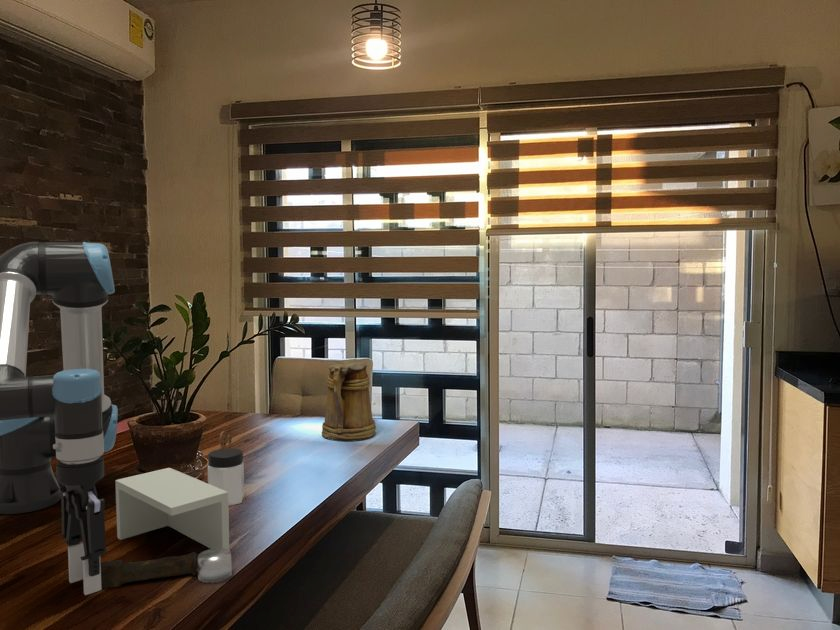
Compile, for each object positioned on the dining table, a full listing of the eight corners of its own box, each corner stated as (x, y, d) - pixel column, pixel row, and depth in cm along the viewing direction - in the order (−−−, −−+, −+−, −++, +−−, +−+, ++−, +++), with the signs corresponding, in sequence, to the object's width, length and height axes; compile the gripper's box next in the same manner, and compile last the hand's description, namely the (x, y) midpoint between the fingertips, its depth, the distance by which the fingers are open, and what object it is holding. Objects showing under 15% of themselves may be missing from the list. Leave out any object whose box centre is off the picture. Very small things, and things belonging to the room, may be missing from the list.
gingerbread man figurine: (222, 479, 184) (221, 435, 183) (209, 478, 185) (208, 435, 184) (238, 470, 192) (237, 427, 192) (225, 469, 193) (224, 427, 192)
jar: (252, 498, 170) (251, 450, 169) (230, 508, 162) (229, 459, 161) (223, 493, 173) (222, 446, 172) (200, 503, 166) (199, 454, 165)
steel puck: (191, 577, 127) (190, 556, 127) (218, 565, 132) (217, 545, 132) (211, 586, 124) (210, 564, 123) (238, 574, 129) (237, 553, 128)
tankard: (380, 428, 240) (380, 358, 238) (365, 446, 216) (365, 368, 214) (330, 427, 242) (329, 357, 240) (310, 444, 219) (309, 367, 217)
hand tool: (197, 568, 131) (196, 545, 131) (197, 578, 127) (196, 553, 127) (88, 583, 125) (87, 559, 125) (85, 593, 122) (84, 568, 121)
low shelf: (117, 537, 145) (115, 480, 144) (170, 522, 154) (169, 467, 153) (173, 572, 129) (171, 508, 128) (229, 552, 138) (228, 492, 137)
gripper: (37, 452, 124) (43, 576, 126) (79, 474, 111) (84, 612, 113) (80, 444, 129) (85, 563, 131) (125, 464, 117) (129, 595, 118)
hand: (85, 585), depth 122 cm, fingers open, 6 cm apart
